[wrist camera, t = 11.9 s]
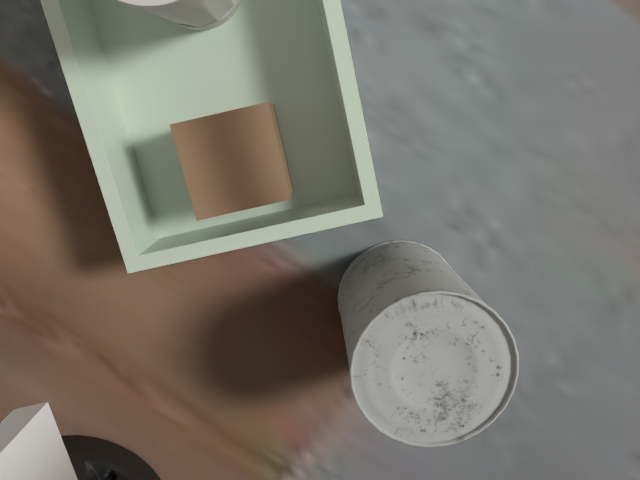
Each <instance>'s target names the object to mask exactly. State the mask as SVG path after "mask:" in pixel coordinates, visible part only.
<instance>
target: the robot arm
mask: <svg viewBox="0 0 640 480" xmlns="http://www.w3.org/2000/svg"><path fill="white" fill-rule="evenodd" d="M0 480H160V478H159V477H158V475H157V474H156V473H155V471H154V470H153V469H152V468H151V467H150V466H149V465H148V464H147V463H146V462H145V461H144V460H142V459H141V458H140V457H139V456H137V455H136V454H134V453H133V452H131V451H129V450H128V449H126V448H124V447H122V446H120V445H117V444H115V443H112V442H109V441H106V440H103V439H98V438H93V437H85V436H67V437H61V435H60V432H59V430H58V427H57V425H56V422H55V419H54V417H53V414H52V412H51V409H50V407H49V404H48V402H45V403H41V404H36V405H32V406H27V407H23V408H18V409H14V410H13V411H12V412H11V413H10V414H9V415H8V416H7V417H6V418H5V419H4V420H3V421H2V422H1V423H0Z"/></svg>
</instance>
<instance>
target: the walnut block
mask: <svg viewBox="0 0 640 480" xmlns="http://www.w3.org/2000/svg"><path fill="white" fill-rule="evenodd" d="M170 128H171V132H172V135H173V139H174V142H175V146H176V149H177V153H178V156H179V160H180V163H181V167H182V171H183V174H184V178H185V181H186V185H187V188H188V192H189V195H190V199H191V202H192V206H193V209H194V213H195V217H196V220H197V221H198V220H202V219H207V218H211V217H216V216H220V215H224V214H229V213H233V212H238V211H242V210H247V209H251V208H256V207H260V206H265V205H269V204H273V203H278V202H282V201H287V200H290V199H291V195H292V191H293V184H292V180H291V176H290V172H289V167H288V163H287V159H286V155H285V150H284V146H283V142H282V138H281V133H280V129H279V125H278V121H277V116H276V112H275V108H274V105H273V104H271V103H268V102H265V103H261V104H256V105H252V106H248V107H243V108H239V109H235V110H230V111H226V112H222V113H217V114H213V115H209V116H204V117H200V118H196V119H191V120H187V121H183V122H178V123H174V124H170Z"/></svg>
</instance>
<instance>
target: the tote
mask: <svg viewBox="0 0 640 480" xmlns="http://www.w3.org/2000/svg"><path fill="white" fill-rule="evenodd" d="M40 1H41V4H42V7H43V11H44V14H45V17H46V20H47V23H48V26H49V29H50V32H51V35H52V39H53V42H54V45H55V48H56V51H57V54H58V57H59V60H60V64H61V67H62V70H63V73H64V76H65V79H66V82H67V85H68V88H69V92H70V95H71V98H72V101H73V104H74V107H75V110H76V113H77V116H78V120H79V123H80V126H81V129H82V132H83V135H84V138H85V141H86V145H87V148H88V151H89V154H90V157H91V160H92V163H93V166H94V169H95V173H96V176H97V179H98V182H99V185H100V188H101V191H102V194H103V197H104V201H105V204H106V207H107V210H108V213H109V216H110V219H111V222H112V226H113V229H114V232H115V235H116V238H117V241H118V244H119V247H120V250H121V254H122V257H123V260H124V263H125V266H126V269H127V272H128V273H133V272H137V271H142V270H146V269H151V268H155V267H160V266H164V265H168V264H173V263H177V262H182V261H186V260H191V259H195V258H200V257H204V256H209V255H213V254H218V253H222V252H227V251H231V250H236V249H240V248H245V247H249V246H254V245H258V244H263V243H267V242H272V241H276V240H281V239H285V238H290V237H294V236H299V235H303V234H308V233H312V232H317V231H321V230H326V229H330V228H335V227H339V226H344V225H348V224H353V223H357V222H362V221H366V220H371V219H375V218H380V217H383V213H382V208H381V203H380V198H379V193H378V188H377V183H376V178H375V173H374V168H373V163H372V158H371V153H370V148H369V143H368V138H367V133H366V128H365V123H364V118H363V113H362V107H361V102H360V97H359V92H358V87H357V82H356V77H355V72H354V67H353V62H352V57H351V52H350V47H349V42H348V37H347V32H346V27H345V22H344V17H343V12H342V7H341V2H340V0H242V1H241V3H240V5H239V7H238V9H237V11H236V12H235V13H234V15H233V16H232V17H231V18H230V19H229V20H228V21H226V22H225V23H224V24H222V25H220V26H218V27H216V28H213V29H210V30H203V31H197V30H190V29H186V28H184V27H181V26H179V25H177V24H175V23H174V22H172V21H170V20H167V19H165V18H162V17H160V16H157V15H155V14H152V13H150V12H147V11H145V10H142V9H139V8H136V7H133V6H131V5H128V4H125V3H122V2H119V1H117V0H40ZM265 102H268V103H271V104H273V105H274V108H275V112H276V116H277V121H278V125H279V129H280V133H281V138H282V142H283V146H284V150H285V155H286V159H287V163H288V167H289V172H290V176H291V180H292V184H293V191H292V195H291V199H290V200H287V201H282V202H278V203H273V204H269V205H265V206H260V207H256V208H251V209H247V210H242V211H238V212H233V213H229V214H224V215H220V216H216V217H211V218H207V219H202V220H198V221H197V220H196V217H195V213H194V209H193V206H192V202H191V199H190V195H189V192H188V188H187V185H186V181H185V178H184V174H183V171H182V167H181V163H180V160H179V156H178V153H177V149H176V146H175V142H174V139H173V135H172V132H171V128H170V124H174V123H178V122H183V121H187V120H191V119H196V118H200V117H204V116H209V115H213V114H217V113H222V112H226V111H230V110H235V109H239V108H243V107H248V106H252V105H256V104H261V103H265Z"/></svg>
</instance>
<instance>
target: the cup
mask: <svg viewBox="0 0 640 480" xmlns="http://www.w3.org/2000/svg"><path fill="white" fill-rule="evenodd" d="M117 1H119V2H122V3H125V4H128V5H131V6H133V7H136V8H139V9H142V10H145V11H147V12H150V13H152V14H155V15H157V16H160V17H162V18H165V19H167V20H170V21H172V22H174V23H175V24H177V25H179V26H181V27H184V28H186V29H190V30H197V31H203V30H210V29H213V28H216V27H218V26H220V25H222V24H224V23H225V22H226V21H228V20H229V19H230V18H231V17H232V16H233V15H234V13H235V12H236V11H237V9H238V7H239V5H240V3H241V1H242V0H117Z"/></svg>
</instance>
